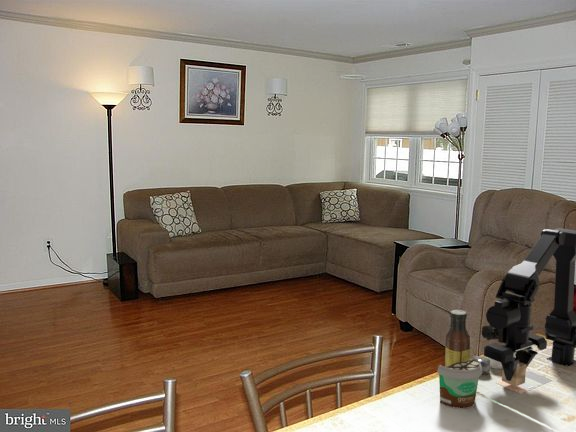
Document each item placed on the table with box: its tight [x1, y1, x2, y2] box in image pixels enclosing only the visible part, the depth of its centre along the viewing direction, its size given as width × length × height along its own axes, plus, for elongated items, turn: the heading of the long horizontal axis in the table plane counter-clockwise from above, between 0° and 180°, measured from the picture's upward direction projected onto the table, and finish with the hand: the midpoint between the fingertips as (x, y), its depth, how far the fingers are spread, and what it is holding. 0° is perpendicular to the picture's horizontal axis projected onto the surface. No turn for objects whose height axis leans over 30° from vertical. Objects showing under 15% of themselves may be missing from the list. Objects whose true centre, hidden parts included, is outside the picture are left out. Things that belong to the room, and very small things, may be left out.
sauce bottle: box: [444, 309, 471, 367], centre depth 138 cm, size 6×6×20 cm
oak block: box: [501, 362, 527, 387], centre depth 136 cm, size 4×4×5 cm
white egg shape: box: [487, 357, 503, 370], centre depth 149 cm, size 4×4×6 cm
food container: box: [436, 356, 482, 409], centre depth 128 cm, size 12×6×10 cm, turn 117°
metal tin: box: [470, 355, 491, 376], centre depth 146 cm, size 5×5×4 cm
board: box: [496, 370, 554, 395], centre depth 140 cm, size 14×7×1 cm, turn 123°
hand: (513, 378), depth 137 cm, fingers closed on oak block, 4 cm apart
